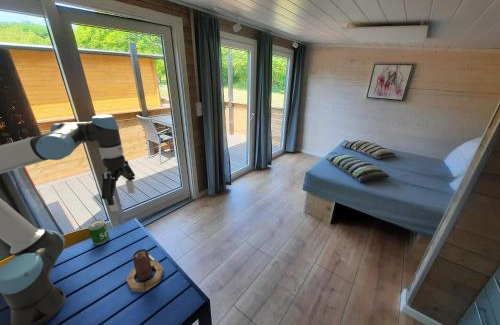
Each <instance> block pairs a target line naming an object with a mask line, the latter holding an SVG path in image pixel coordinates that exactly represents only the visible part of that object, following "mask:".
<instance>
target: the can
mask: <svg viewBox="0 0 500 325" xmlns="http://www.w3.org/2000/svg"><path fill="white" fill-rule="evenodd" d="M149 255H150V254H149V252H148V250H147V249H139V250H137V251H135V252H134V254H133V255H132V261H133V264H134V267H135V270H136V274H137V276H136V278H137V280H138V282H139V283H146V282H147V281H149V280H151V279H152V278H153V270H152V268H151V263H150V261H151V259H150V258H149Z"/></svg>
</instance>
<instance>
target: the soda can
mask: <svg viewBox="0 0 500 325" xmlns="http://www.w3.org/2000/svg"><path fill="white" fill-rule="evenodd" d="M87 229H88V232H89V235H90V238H91V241H92V244H95V245H102V244H105V243H106V242H108V240H109V238H110V235H109V231H108V230H109V229H108V227H107V225H106V221H105V220H102V219H95V220H93V221H91V222H90V223H89V224H88V226H87Z"/></svg>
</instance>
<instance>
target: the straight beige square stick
mask: <svg viewBox="0 0 500 325" xmlns="http://www.w3.org/2000/svg"><path fill="white" fill-rule="evenodd" d="M149 258H150V261H156V259H155V258H154V257H153V256H152V255H151V254H149Z"/></svg>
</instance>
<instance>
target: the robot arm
mask: <svg viewBox="0 0 500 325" xmlns="http://www.w3.org/2000/svg"><path fill="white" fill-rule="evenodd" d="M88 143H97V146H98V149H99V153H100V154H99V155H100V156H101V160H102V164H103V167H105V168H106V170H107V172H102V173H101V177H102V185H101V200H106V202H107V204H108V207H109V210H110V212H119V207H118V203H117V200H116V196H114V194H115V189H116V184H117V182H118V181H119V178H120V177H121V176H122V177H123V178H124V179H126V180H125V185H126V188H127V192H128V193H127V194H136V191H135V186H134V180H136V177H135V176H136V174H135V173H134V171H133V169H132V168H131V166H130V165H129V161H128V160H126V158H125V155H124V150H123V149H124V148H123V145H122V140H121V135H120V129H119V126H118V122H117V119H116V117H115V116H114V115H111V114H101V115H99V114H97V115H94V116H92V117H91V121H77V122H67V121H64V122H58V123H57V122H56V123H53V124H52V125H51V128H50V131H49V132H46V133H43V134H40V135H37V136H32V137H28V138H24V139H21V140H18V141H14V142H10V143H5V144H2V145H0V175H1V174H4V173H8V172H12V171H15V170H18V169H22V168H24V167H28V166H33V165H35V164H39V163H43V162H46V161H50V160H52V161H59V160H63V159H64V158H67V157H68V156H70V155H72V154H73V152H74V151H75V150H76V149H77V148H78V147H80V146H81V145H82V144H88ZM0 240H2V241H3V242H4V243H5V244H7V245H9V246H10V250H9V254H11V255H13V256H14V257H13V258H12V259H10V261H7V262H5V263H4V264H2V266H0V295H1V296H2V297H3V299H4V300H5V302H6V303H7V305H8V307H9V309H10V318H9V319H10V320H9V322H10V325H45V323H47V322H48V321H50V320H51V319H52V318H54V317H55V316H56V315H57V314H58V313H59V312H60V311H61V310H62V308H63V306H64V305H65V303H66V295H65V292H64V290H63V289H61V288H60V287H58V286H57V285H55V284H54V283H53V282H52V279H51V277H50V274H51V271H52V270H53V268H54V266H55V265H56V262H57V260H58V259H59V258H60V255H62V253H63V251H64V247H65V245H66V239H65V237H64V235H63V234H62V233H61V232H58V231H56V230H51V229H45V228H37V227H35V226H34V225H33V224H31V222H30V221H28V220H27V219H26V217H25V218H24V216H22V215H21V214H20V213H19V212H18V211H16V210H15V209H14V208H13V207H12V206H10V205H9V204H8V203H7V202H6V201H4V200H3V199H2V198H1V197H0Z"/></svg>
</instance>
